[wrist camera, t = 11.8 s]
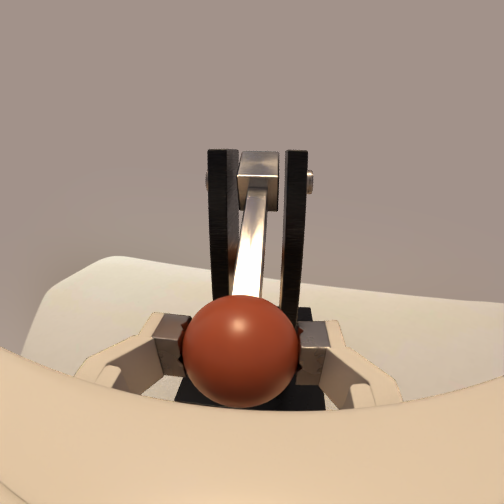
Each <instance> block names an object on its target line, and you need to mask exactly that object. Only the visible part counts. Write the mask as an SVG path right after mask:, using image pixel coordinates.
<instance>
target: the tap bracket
mask: <svg viewBox="0 0 504 504" xmlns="http://www.w3.org/2000/svg"><path fill="white" fill-rule="evenodd" d="M238 153H239V152H238V150H236V149H209V150H208V152H207V154H208V170H207V172H206V188H207V191H208V205H209V207H208V209H209V235H210V258H211V278H212V295H213V301H214V300H216V299H218V298H221V297H224V296H229V295H231V290H232V283H233V276H234V270H235V263H236V256H237V250H238V244H239V219H238V218H239V215H238V214H239V212H238V211H239V203H238V192H237V180H236V175H237V171H238V164H239V163H238V161H239V160H238V159H239V154H238ZM307 168H308V151H306V150H287V151H285V189H284V219H283V243H282V265H281V282H280V300H279V307H278V308H279V309H280V310H281V311H282V312H283V313H284V314H285V315H286V316H287V317H288V319H289V320H290V322H291V323H292V325H293V327H294V329H295V331H296V326H297V321H313V320H312V314H311V308H309V307H298V304H299V294H300V283H301V271H302V259H303V244H304V229H305V213H306V194H311V193H312V190H313V172H312V170H307ZM174 401H175V402H180V403H186V404H193V405H201V406H209V407H218V408H229V409H242V410H259V411H325V410H326V408H325V400H324V392H323V391H322V389H321V388H320V387H319V385H296V383H295V374H294V376H293V378H292V380H291V381H290V383H289V384H288V385H287V387H286V388H285V389H284V390H283V391H282V392H281V393H280V394H279V395H277V396H276V397H275V398H273V399H272V400H270V401H268V402H266V403H263V404H261V405H258V406H254V407H247V408H234V407H228V406H225V405H221V404H219V403H216V402H214V401H212V400H211V399H209V398H208V397H206V396H205V395H203V394H202V393H201V392H200V391H199V390H198V389H197V388H196V387H195V386H194V384H193V383H192V381H191V380H190V378H189V376H188V374H186V377H183V379H182V382H181V384H180V387H179V389H178V392H177V394H176V397H175V399H174Z"/></svg>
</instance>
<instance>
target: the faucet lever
mask: <svg viewBox="0 0 504 504" xmlns="http://www.w3.org/2000/svg"><path fill="white" fill-rule="evenodd" d="M236 180H237V192H238V203H239V210H241V211H244V212H243V218H242V224H241V231H240V238H239V244H238V250H237V256H236V263H235V270H234V276H233V283H232V290H231V295H229V296H224V297H221V298H218V299H216V300H214V301H212V302H210V303H208V304H207V305H205V306H204V307H203V308H202V309H201V310H199V311H198V312H197V314H196V315H195V316H194V317H193V319H192V320H191V322H190V323H189V325H188V327H187V329H186V332H185V335H184V339H183V345H182V356H183V362H184V366H185V370H186V372H187V374H188V376H189V378H190V380H191V381H192V383H193V384H194V386H195V387H196V388H197V389H198V390H199V391H200V392H201V393H202V394H203V395H205V396H206V397H208V398H209V399H211V400H212V401H214V402H216V403H219V404H221V405H225V406H228V407H234V408H247V407H254V406H258V405H261V404H263V403H266V402H268V401H270V400H272V399H273V398H275V397H276V396H277V395H279V394H280V393H281V392H282V391H283V390H284V389H285V388H286V387H287V385H288V384H289V383H290V381H291V380H292V378H293V376H294V374H295V371H296V369H297V365H298V361H299V360H298V353H299V345H298V338H297V334H296V331H295V329H294V327H293V325H292V323H291V322H290V320H289V319H288V317H287V316H286V315H285V314H284V313H283V312H282V311H281V310H280V309H279V308H278V307H277V306H275V305H274V304H272V303H270V302H269V301H267V300H265V299H263V298H262V285H263V271H264V256H265V242H266V227H267V212H268V211H274V212H275V211H276V212H277V211H278V195H279V152H269V151H243V152H242V154H241V158H240V163H239V167H238V171H237V175H236Z"/></svg>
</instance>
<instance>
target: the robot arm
mask: <svg viewBox="0 0 504 504" xmlns="http://www.w3.org/2000/svg"><path fill="white" fill-rule="evenodd" d="M191 320H192V318H191V316H185V315H176V314H168V313H158V312H154V313H152V314H151V316H150V317H149V319H148V320H147V322H146V323H145V325H144V326H143V328H142V329H141V331H140V333H139V334H138V336H136V335H134V336H132V337H130V338H127V339H125V340H123V341H121V342H119V343H117V344H115V345H113V346H111V347H109V348H107V349H105V350H103V351H101V352H99V353H97V354H95V355H92V356H90V357H88V358H86V360H85V361H84V362H83V364H82V365H81V367H80V368H79V369H78V371H77V372H76V373H75V375H74V376H70V375H67V374H64V373H61V372H59V371H56V370H53V369H51V368H48V367H46V366H43V365H41V364H38V363H36V362H33V361H31V360H29V359H26V358H24V357H22V356H19V355H17V354H15V353H13V352H11V351H9V350H7V349H5V348H3V347H1V346H0V504H504V375H503V376H501V377H498V378H495V379H492V380H489V381H486V382H483V383H480V384H477V385H474V386H470V387H467V388H463V389H460V390H456V391H452V392H448V393H444V394H440V395H436V396H431V397H427V398H422V399H417V400H411V401H406V402H404V401H403V399H402V396H401V394H400V391H399V388H398V386H397V383H396V381H395V379H394V378H392V377H391V376H389V375H388V374H387V373H385V372H384V371H382V370H381V369H379V368H378V367H377V366H375V365H374V364H372V363H371V362H370V361H368V360H367V359H366V358H364V357H363V356H361V355H360V354H359V353H357V352H356V351H354V350H353V349H352V348H350V347H346V345H345V341H344V338H343V335H342V332H341V329H340V325H339V322H338V321H337V320H333V321H297V326H296V334H297V338H298V345H299V353H298V360H299V361H298V365H297V369H296V371H295V383H296V385H319V387H320V388H321V389H322V391H323V392H324V393H325V394H326V395H327V396H328V398H329V399H330V400H331V401H332V402H333V403H334V404H335V406H336V407H337V408H338V409H339V410H325V411H259V410H242V409H229V408H218V407H209V406H201V405H193V404H186V403H180V402H174V401H168V400H162V399H157V398H152V397H147V396H142V395H141V394H142V393H143V392H144V391H146V390H147V389H148V388H150V387H151V386H152V385H153V384H155V383H156V382H157V381H158V380H160V379H161V378H162V377H163V376H164V375H168V376H177V377H186V374H187V372H186V370H185V366H184V362H183V356H182V345H183V339H184V335H185V332H186V329H187V327H188V325H189V323H190V322H191Z"/></svg>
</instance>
